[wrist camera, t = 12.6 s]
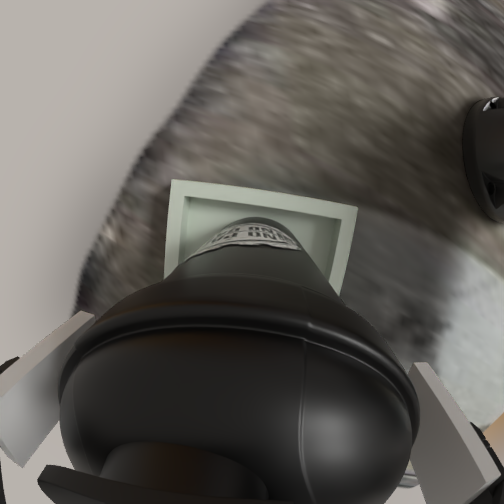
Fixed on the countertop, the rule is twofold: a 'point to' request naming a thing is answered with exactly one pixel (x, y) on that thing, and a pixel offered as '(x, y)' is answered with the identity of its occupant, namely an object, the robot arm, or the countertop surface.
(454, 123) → the countertop surface
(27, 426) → the robot arm
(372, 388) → the water bottle
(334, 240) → the tray
